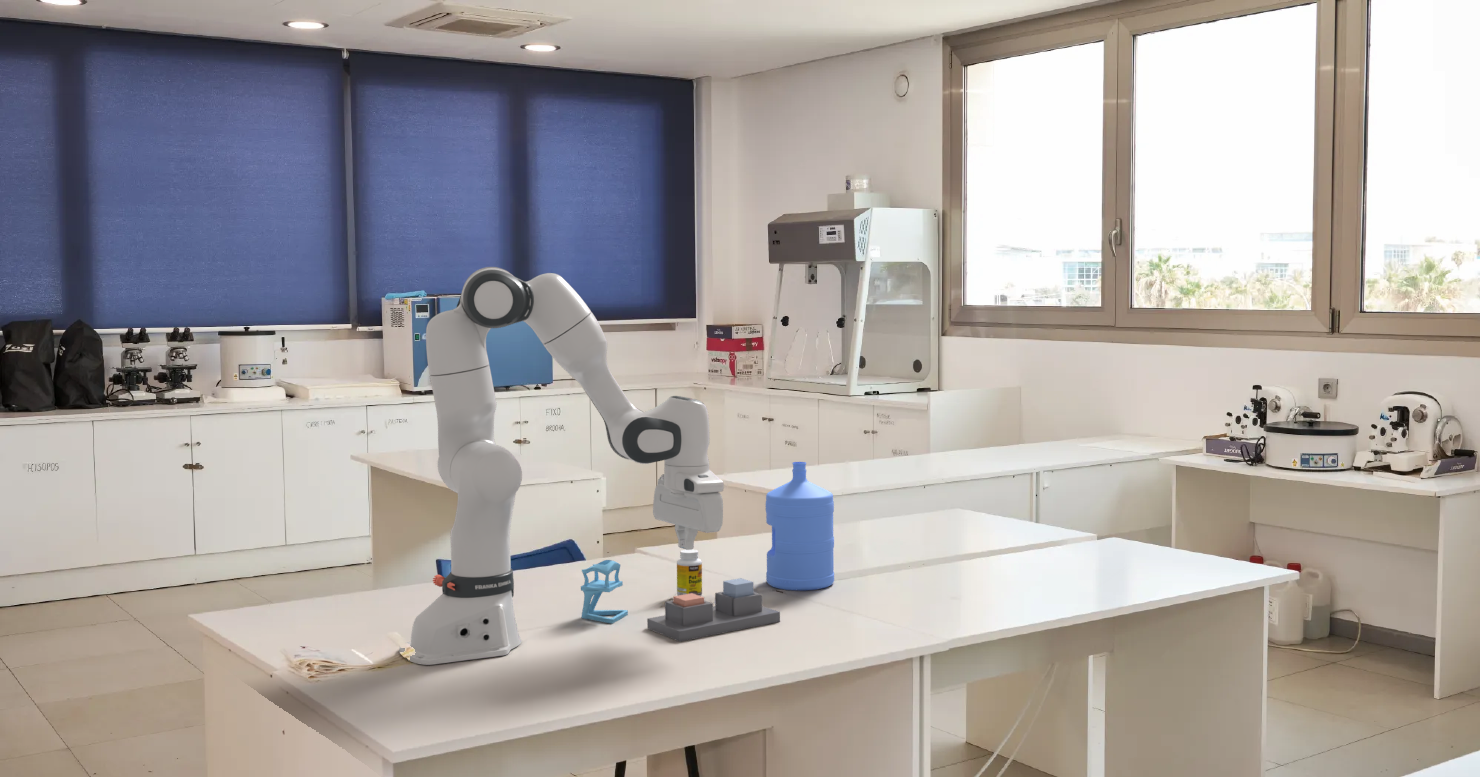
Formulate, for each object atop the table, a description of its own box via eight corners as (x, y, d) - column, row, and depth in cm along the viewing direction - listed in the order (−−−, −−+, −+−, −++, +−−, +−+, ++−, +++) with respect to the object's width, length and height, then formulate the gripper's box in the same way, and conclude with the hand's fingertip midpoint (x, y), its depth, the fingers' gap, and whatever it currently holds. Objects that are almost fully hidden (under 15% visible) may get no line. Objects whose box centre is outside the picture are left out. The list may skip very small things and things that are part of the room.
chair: (592, 612, 256) (591, 555, 255) (628, 614, 253) (627, 557, 252) (575, 621, 249) (574, 563, 248) (612, 623, 246) (611, 565, 245)
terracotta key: (685, 615, 237) (685, 600, 237) (673, 611, 241) (673, 596, 241) (704, 612, 240) (704, 597, 240) (692, 607, 243) (691, 593, 243)
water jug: (846, 580, 282) (845, 460, 280) (813, 594, 269) (812, 468, 267) (787, 573, 290) (786, 456, 288) (753, 586, 277) (752, 464, 275)
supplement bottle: (688, 601, 264) (687, 554, 263) (671, 596, 268) (671, 551, 267) (707, 596, 268) (707, 550, 267) (690, 592, 272) (690, 547, 271)
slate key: (735, 599, 244) (735, 585, 244) (723, 595, 248) (723, 581, 248) (753, 596, 247) (753, 581, 246) (741, 592, 250) (740, 578, 250)
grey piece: (679, 641, 232) (679, 613, 232) (647, 628, 242) (647, 601, 242) (780, 621, 246) (779, 594, 246) (745, 609, 256) (745, 584, 255)
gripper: (645, 473, 245) (645, 541, 246) (701, 485, 229) (700, 558, 229) (672, 471, 249) (671, 538, 250) (729, 483, 232) (728, 555, 233)
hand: (685, 548), depth 239 cm, fingers closed
